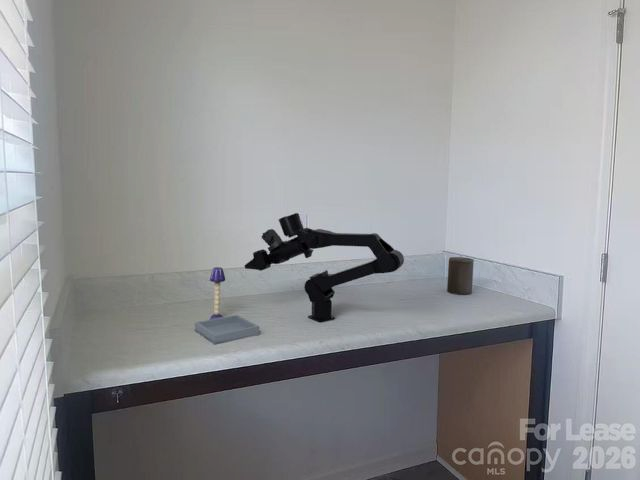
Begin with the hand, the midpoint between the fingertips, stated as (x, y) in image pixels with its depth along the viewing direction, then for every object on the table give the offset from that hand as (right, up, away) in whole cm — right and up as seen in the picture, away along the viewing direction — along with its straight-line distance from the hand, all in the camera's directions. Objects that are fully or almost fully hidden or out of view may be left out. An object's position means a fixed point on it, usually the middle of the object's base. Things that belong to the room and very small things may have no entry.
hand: (252, 264), depth 154 cm
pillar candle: (+80, -13, +31) cm, 86 cm away
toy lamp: (-9, -17, -10) cm, 22 cm away
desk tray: (-4, -19, -22) cm, 29 cm away
